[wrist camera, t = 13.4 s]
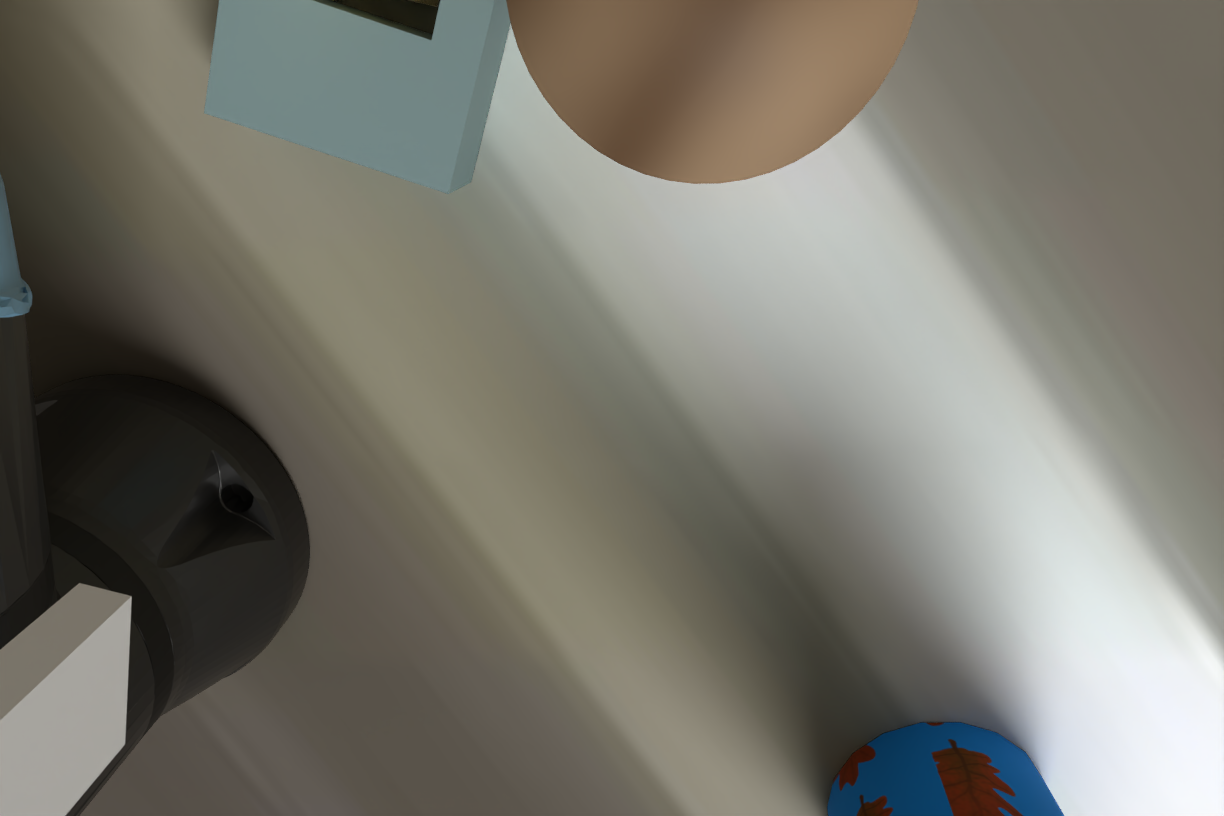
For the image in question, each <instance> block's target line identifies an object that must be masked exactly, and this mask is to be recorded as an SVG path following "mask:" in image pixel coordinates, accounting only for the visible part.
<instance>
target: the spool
mask: <svg viewBox="0 0 1224 816" xmlns="http://www.w3.org/2000/svg"><path fill="white" fill-rule="evenodd" d="M506 2H507V7H508V13H509V18H510V22H511V26H512V29H513V32H514V35H515V39H516V42H517V45H518V48H519V50H520V53H521V55H522V57H523V60H524V62H525V64H526V66H527V69H528V71H529V73H530V75H531V76H532V78H533V80H534V81H535V83H536V85H537V87H538V88H539V90H540V92H541V93H542V95H543V97H544V98H545V99H546V100H547V102H548V103H549V104H550V106H551V107H552V108H553V109H554V111H555V112H556V113H557V115H558V116H559V117H560V118H561V119H562V120H563V121H564V122H565V123H566V124H567V125H568V126H569V127H570V128H571V129H572V130H573V131H574V132H575V133H576V134H577V135H578V136H579V137H580V138H582V139H583V140H584V141H586V142H587V143H588V144H589V145H591V146H592V147H593V148H595V149H596V150H597V151H599V152H600V153H602V154H604V155H605V156H607V157H609V158H611V159H612V160H614V161H616V162H618V163H619V164H621V165H624V166H626V167H628V168H631V169H633V170H636V171H638V172H641V173H643V174H646V175H650V176H654V177H657V178H661V179H665V180H669V181H677V182H685V183H694V184H698V183H725V182H731V181H738V180H745V179H749V178H752V177H756V176H759V175H763V174H766V173H770V172H772V171H775V170H777V169H779V168H782V167H784V166H786V165H789V164H791V163H793V162H795V161H797V160H799V159H800V158H802V157H804V156H806V155H807V154H809V153H811V152H812V151H814V150H816V149H818V148H819V147H820V146H822V145H823V144H824V143H825V142H827V141H828V140H829V139H831V138H832V137H833V136H835V135H836V134H837V133H839V132H840V131H841V130H842V129H843V128H844V127H845V126H846V125H847V124H848V123H849V122H850V121H851V120H852V119H853V118H854V117H855V116H856V115H857V114H858V113H859V112H860V111H861V110H862V109H863V108H864V106H865V105H866V104H867V103H868V101H869V100H870V99H871V98H872V96H873V95H874V94H875V93H876V91H877V90H878V89H879V87H880V86H881V84H882V82H883V81H884V79H885V78H886V76H887V74H888V73H889V71H890V70H891V68H892V67H893V65H894V63H895V61H896V59H897V57H898V55H899V53H900V50H901V48H902V46H903V44H904V42H905V40H906V38H907V35H908V32H909V29H910V26H911V23H912V20H913V18H914V15H915V12H916V9H917V4H918V0H506Z"/></svg>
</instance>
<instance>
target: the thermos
mask: <svg viewBox="0 0 1224 816" xmlns="http://www.w3.org/2000/svg"><path fill="white" fill-rule="evenodd" d="M827 809H828V816H1064V814H1063V813H1062V811H1061V809H1060V808H1059V806H1058V804H1057V802H1056V801H1055V799H1054V797H1053V795H1052V794H1051V792H1050V790H1049V789H1048V787H1047V785H1046V783H1045V782H1044V780H1043V778H1042V777H1041V775H1040V774H1039V772H1038V771H1037V769H1036V767H1035V766H1034V764H1033V763H1032V761H1031V760H1030V758H1029V757H1028V755H1027V754H1026V752H1024V751H1023V750H1021V749H1020V748H1018V747H1017V746H1016V745H1014V744H1013V743H1011V742H1010V741H1008V740H1007V739H1005V738H1004V737H1002V736H1001V735H999V734H998V733H996V732H993V731H989V730H985V729H982V728H978V727H975V726H971V725H968V724H964V723H961V722H942V723H918V724H914V725H911V726H907V727H904V728H900V729H897V730H894V731H890V732H887V733H883V734H882V735H880V736H879V737H877V738H876V739H874V740H873V741H871V742H869V743H868V744H866V745H865V746H863V747H862V748H860V749H859V750H857V751H856V752H854V753H853V754H852V755H851V757H850V758H849V759H848V761H847V762H846V763H845V765H844V766H843V767H842V769H841V770H840V771H839V773H838V774H837V775H836V777H835V778H834V781H833V785H832V789H831V793H830V798H829V802H828V806H827Z"/></svg>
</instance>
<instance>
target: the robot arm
mask: <svg viewBox="0 0 1224 816" xmlns="http://www.w3.org/2000/svg"><path fill="white" fill-rule="evenodd" d="M31 305H32V293H31V290H30V288H29V286H28V284H27V283H26V282H25V281H24V280H23V279H22V278H21V275H20V270H19V264H18V259H17V253H16V248H15V242H14V237H13V231H12V226H11V220H10V215H9V209H8V204H7V198H6V193H5V187H4V183H3V180H2V177H1V174H0V816H80V814H81V813H82V812H83V811H84V809H85V808H86V807H87V806H88V804H89V803H90V802H91V801H92V799H93V798H94V797H95V796H96V795H97V793H98V792H99V791H100V790H101V788H102V787H103V786H104V785H105V783H106V782H107V781H108V780H109V778H110V777H111V776H112V775H113V774H114V772H115V771H116V770H117V769H118V767H119V766H120V765H121V764H122V762H123V761H124V760H125V759H126V758H127V756H128V755H129V754H130V753H131V751H132V750H133V749H134V748H135V746H136V745H137V744H138V742H139V741H140V740H141V739H142V737H143V736H144V735H145V734H146V733H147V731H148V730H149V729H150V728H151V727H152V725H153V724H154V723H155V722H156V720H157V719H158V718H159V717H160V716H162V715H163V714H165V713H167V712H168V711H170V710H172V709H174V708H175V707H177V706H179V705H180V704H182V703H184V702H186V701H187V700H189V699H191V698H192V697H194V696H196V695H197V694H199V693H200V692H202V691H204V690H205V689H207V688H209V687H210V686H212V685H213V684H215V683H216V682H218V681H220V680H221V679H223V678H225V677H227V676H229V675H231V674H233V673H235V672H237V671H238V670H240V669H241V668H243V667H244V666H246V665H247V664H248V663H249V662H251V661H252V660H253V659H254V658H255V657H256V656H257V655H259V654H260V653H261V652H262V651H263V650H264V649H265V648H266V646H267V645H268V644H269V643H270V642H271V641H272V639H273V638H274V637H275V635H276V634H277V632H278V631H279V630H280V628H281V627H282V626H283V624H284V623H285V622H286V620H287V619H288V617H289V616H290V615H291V613H292V612H293V610H294V609H295V607H296V605H297V603H298V601H299V599H300V597H301V595H302V592H303V589H304V587H305V583H306V579H307V574H308V569H309V558H310V546H309V535H308V529H307V524H306V520H305V516H304V512H303V509H302V506H301V503H300V501H299V498H298V496H297V493H296V491H295V489H294V487H293V485H292V483H291V481H290V479H289V478H288V476H287V474H286V473H285V471H284V469H283V468H282V466H281V465H280V463H279V462H278V461H277V459H276V458H275V457H274V455H273V454H272V453H271V452H270V450H269V449H268V448H267V447H266V446H265V445H264V443H263V442H262V441H261V440H260V439H259V438H258V437H257V436H256V435H255V434H254V433H253V432H252V431H251V430H250V429H249V428H247V427H246V426H245V425H244V424H243V423H242V422H240V421H239V420H238V419H237V418H235V417H234V416H233V415H231V414H230V413H228V412H227V411H226V410H224V409H223V408H221V407H220V406H218V405H216V404H215V403H213V402H211V401H209V400H208V399H206V398H204V397H202V396H200V395H198V394H196V393H194V392H191V391H189V390H187V389H184V388H182V387H179V386H176V385H173V384H170V383H167V382H163V381H160V380H155V379H151V378H146V377H139V376H130V375H101V376H93V377H87V378H82V379H78V380H74V381H71V382H68V383H65V384H63V385H60V386H58V387H56V388H54V389H52V390H50V391H48V392H46V393H44V394H42V395H40V396H38V397H36V398H34V392H33V383H32V374H31V364H30V355H29V346H28V337H27V328H26V319H25V314H26V313H28V312H29V311H30V307H31Z"/></svg>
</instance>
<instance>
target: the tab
mask: <svg viewBox="0 0 1224 816" xmlns="http://www.w3.org/2000/svg"><path fill="white" fill-rule="evenodd" d="M409 1H413V2H418V3H422V4H427V5H431V6H436V7H437V5H438V1H439V0H409Z"/></svg>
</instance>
